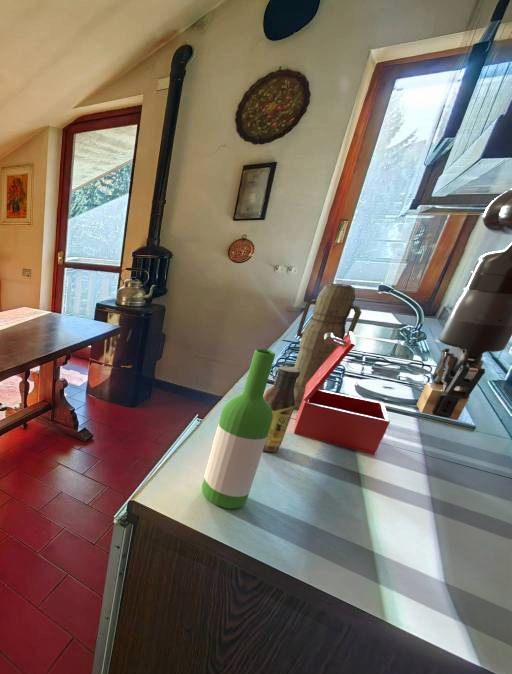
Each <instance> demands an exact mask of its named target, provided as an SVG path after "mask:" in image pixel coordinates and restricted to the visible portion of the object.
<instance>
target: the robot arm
mask: <svg viewBox="0 0 512 674" xmlns="http://www.w3.org/2000/svg"><path fill="white" fill-rule="evenodd" d="M482 223H483V225H484V226H485V228H486V229H487V230H488V231H490V232H492V233H494V234H495V233H496V234H499V235H507V236H508V235H509V236H512V188H509V190H507V191H505V192H503V193H502V194H500V195H499V196H497V197H496V198H494V200H492V201H491V202H490V203H489V205H488V206H487V207H486V209H485V211H484V213H483V215H482ZM511 338H512V242H511V243H510V244H509V245H508V246H507V247H506V248H505V249H503V250H498V251H492V252H488V253H485V254H483V255H481V256H480V257H479V258H478V260H477V261H476V263H475V265H474V266H473V268H472V271H471V273H470V275H469V277H468V279H467V282H466V284H465V286H464V288H463V290H462V291H461V293H460V295H459V296H458V298H457V299H456V300H455V302H454V304H453V307H452V309H451V311H450V313H449V314H448V317H447V319H446V322H445V324H444V326H443V328H442V330H441V333H440V335H439V337H438V341H439V342H440V343H442V344H443V345H447V346H449V347H450V348H449V347H444V348H443V349H441V353H440V356H439V359H438V361H437V364H436V367H435V369H434V372H433V374H432V375H431V379H432V383H434V384H440V385H443V388H442V391H441V392H440V396H439V398H438V400H437V402H436V404H435V406H434V408H433V410H432V413H433V415H432V416H434V415H435V416H434V417H439V416H440V418H444V417H445V419H449V418H448V417H450V416H451V414H452V412H453V411H454V409H455V407H456V405H457V403H458V401H459V399H467V398H468V397H469V396H470V395H471V394H472V392H473V390H475V388H476V386H477V385H478V384H479V382H480V380H481V379H482V377H483V376H484V375H485V374H486V368H482V367H483V365H484V361H483V360H482V358H483V354H484V353H488V352H490V353H491V352H492V353H497V352H501V351H504V350H505V349H506V347H507V345H508V344H509V341H510V340H511ZM455 387H459V388H460V389H459V391H457V390H454V389H455ZM469 398H470V397H469Z"/></svg>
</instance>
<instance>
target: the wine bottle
mask: <svg viewBox="0 0 512 674" xmlns="http://www.w3.org/2000/svg"><path fill="white" fill-rule="evenodd" d="M275 358H276V353H275V351H272V350H268V349H262V348H260V349H258V348H257V349H255V350H254V353H253V356H252V359H251V363H250V365H249V370H248V373H247V376H246V380H245V383H244V387H243V389H242V392H241V393H237V394H235V395H234V396H232V397H230V398H228V400H227V401H226V402H225V403H224V405H223V407H222V409H221V414H220V417H219V421H218V424H217V428H216V431H215V434H214V435H215V436H214V439H213V443H212V446H211V451H210V454H209V456H208V462H207V465H206V468H205V472H204V477H203V481H202V485H201V492H202V494H203V496H204V497H205V498H206V499H207V501H209V502H210V503H212V504H214V505H216V506H218V507H219V508H220V507H221V508H224V509H231V510H234V509H240V508H242V507H243V506H245V504H246V503H247V500H248V497H249V494H250V492H251V489H252V485H253V483H254V481H255V476H256V473H257V470H258V467H259V464H260V461H261V459H262V455H263V452H264V451H263V449H264V446H265V443H266V439H267V436H268V433H269V430H270V427H271V423H272V419H273V413H272V409H271V407H270V405H269V403H268V402H267V401H266V400H265V399H264V395H265V392H266V389H267V388H266V387H267V384H268V380H269V377H270V374H271V371H272V368H273V364H274V360H275Z"/></svg>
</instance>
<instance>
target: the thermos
mask: <svg viewBox="0 0 512 674" xmlns="http://www.w3.org/2000/svg"><path fill="white" fill-rule="evenodd" d="M355 301H356V287H354V286H353V285H351V284H346V283H345V284H344V283H329V284H326V285H324V287H323V288H322V289H321V291H320V292H319V293H318V296H317V297H316V299H311V300H310V301H308V302H307V303H306V304H305V305H304V309H303V312H302V315H301V319H300V321H299V325H298V328H297V332H296V336H297V337H299V339H300V341H299V351H298V354H297V357H296V359H295V363H294V366H293V368H295V369H298V370H299V371H300V374H299V377H298V378H297V380H296V383H295V386H294V399H295V407H294V410H296V411H299V408H300V405H301V402H302V399H303V396H304V394H305V387H306V384H307V383H308V381H309V380H310V379H311V378H312V377H313V375H314V374H315V373H316V372H317V370H318V369H319V368H320V367H321V366H322V364H323V363H324V362H325V361H326V359H327V358H328V357H329V356H330V355H331V353H332V352H333V351H334V350H335V348H336V347H337V346H338V345H336V344H334V343H331V344H327V343H325V342H324V335H325V334H326V333H328V332H331V333H333V334H334V337H337V338H339V339H342V340H343V339H344V337H345V336H346V335H347V334H348V333H349V332H352V333H353V334H354V331H355V329H356V326H357V324H358V321H359V319H360V317H361V314H362V310H361V307H360V306H359V305H355V304H354V303H355ZM312 304H313V305H314V307H313V310H312V315H311V317H310V319H309V322H308V323H307V324H306V325H305V322H306V319H307V316H308V313H309V310H310V306H311V305H312ZM352 310H353V312H354V314H353V317H352V319H351V322H350V325H349V327H348V330H347V333H346V325H347V319H348V317H349V316H350V314H351V311H352ZM304 325H305V326H304ZM303 328H304V330H303ZM302 331H303V332H302ZM326 380H327V379H326ZM326 380H325V381H324V382H323V384H322V385H321V386H320V387H319V388H318V390H323V391H325V384H326Z"/></svg>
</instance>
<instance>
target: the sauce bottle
mask: <svg viewBox="0 0 512 674" xmlns="http://www.w3.org/2000/svg"><path fill="white" fill-rule="evenodd" d="M299 374H300V371H299V370H298V369H295V368H294V367H291V366H286V365H285V366H279V367H278V368H277V371H276V377H275V380H274V382H273V385H272V386H271V387H270V388H268V389H267V390H265V392H264V395H263V397H264V399H265V400H266V401H267V402H268V403H269V405H270V407H271V409H272V413H273V419H272V423H271V427H270V430H269V433H268V436H267V439H266V443H265V446H264V449H263V452H268V453H274V452H275V453H276V452H277V451H279V449H280V447H281V446H282V443H283V441H284V439H285V438H284V437H285V435H286V433H287V430H288V428H289V427H288V426H289V424H290V422H291V418H292V415H293V413H294V410H295V409H294V407H295V399H294V386H295V383H296V380H297V378H298V377H299Z"/></svg>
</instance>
